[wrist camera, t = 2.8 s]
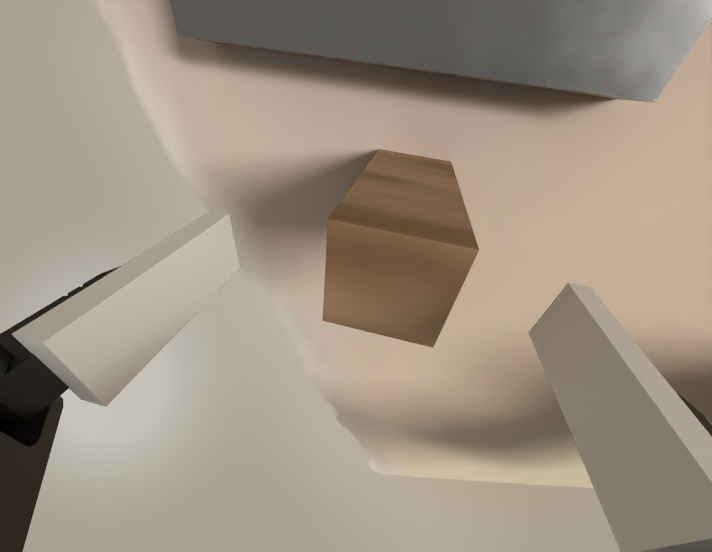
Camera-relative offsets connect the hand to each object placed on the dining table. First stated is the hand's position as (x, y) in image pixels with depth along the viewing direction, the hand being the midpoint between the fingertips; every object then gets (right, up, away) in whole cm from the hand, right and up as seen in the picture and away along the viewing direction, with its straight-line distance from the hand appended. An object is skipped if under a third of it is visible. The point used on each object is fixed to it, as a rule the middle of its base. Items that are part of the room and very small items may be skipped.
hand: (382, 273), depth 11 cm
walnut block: (+3, +6, +9) cm, 11 cm away
